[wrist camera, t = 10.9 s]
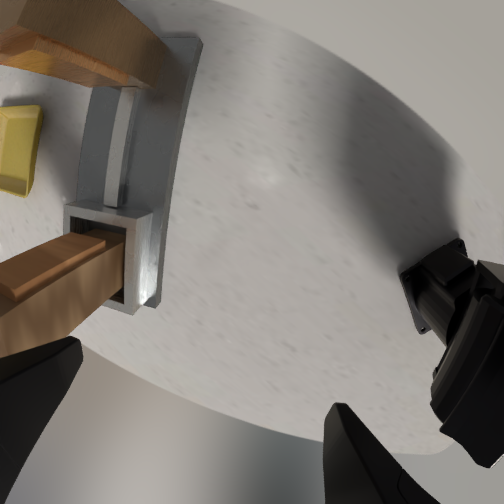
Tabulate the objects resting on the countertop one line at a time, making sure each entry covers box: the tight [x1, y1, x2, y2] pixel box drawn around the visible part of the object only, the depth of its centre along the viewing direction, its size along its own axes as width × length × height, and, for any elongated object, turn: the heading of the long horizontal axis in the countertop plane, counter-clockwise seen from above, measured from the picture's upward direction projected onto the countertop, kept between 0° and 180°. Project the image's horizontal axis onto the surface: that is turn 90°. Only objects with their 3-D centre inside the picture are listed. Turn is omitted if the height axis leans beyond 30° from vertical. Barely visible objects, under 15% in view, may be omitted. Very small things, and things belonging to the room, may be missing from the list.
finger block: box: [0, 229, 126, 358], centre depth 14 cm, size 4×4×13 cm
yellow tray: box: [0, 105, 43, 198], centre depth 19 cm, size 9×9×2 cm
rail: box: [0, 0, 203, 315], centre depth 13 cm, size 20×8×14 cm, turn 169°
